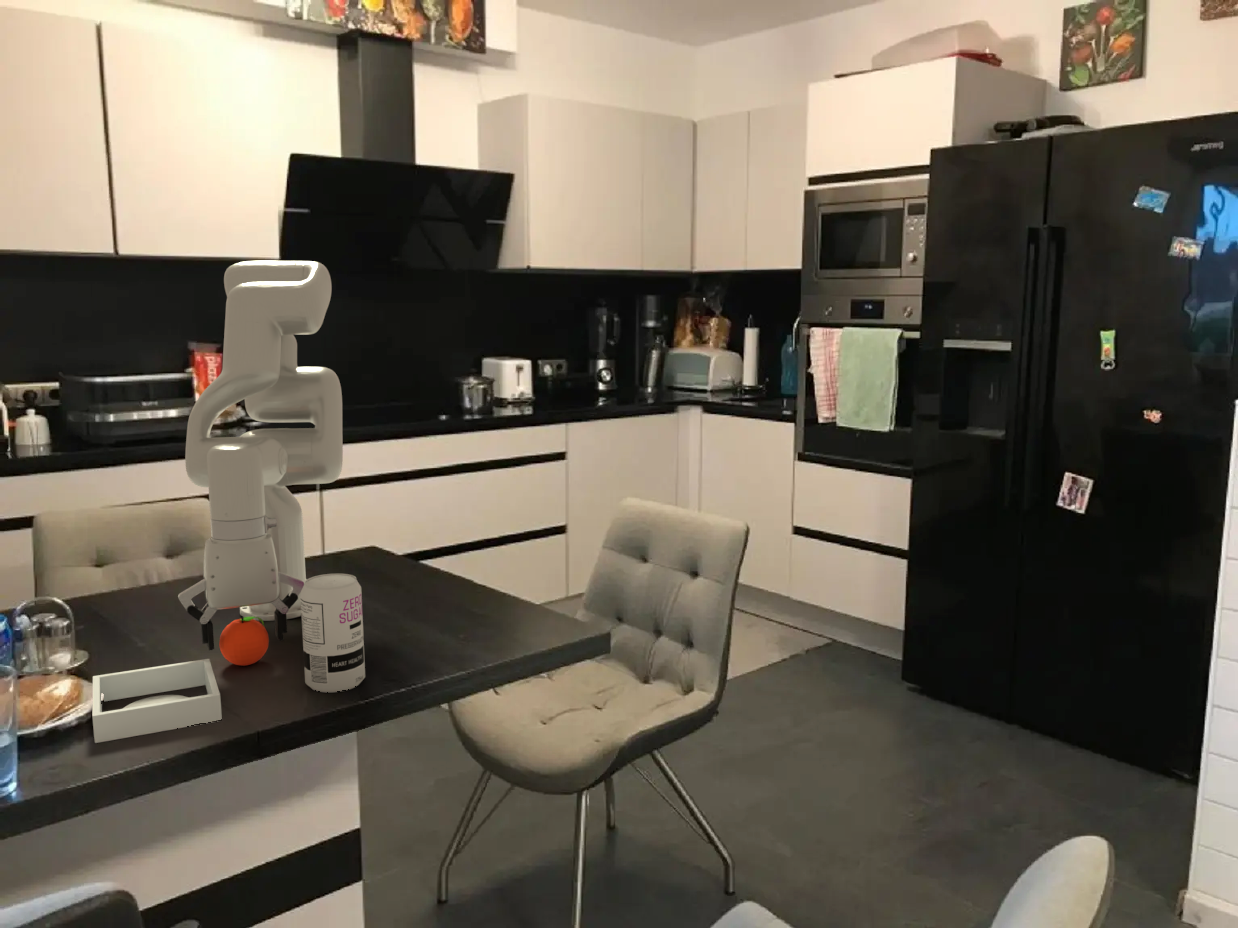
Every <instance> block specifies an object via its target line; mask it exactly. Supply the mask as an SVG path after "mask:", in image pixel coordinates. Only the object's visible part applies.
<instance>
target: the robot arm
mask: <svg viewBox="0 0 1238 928" xmlns="http://www.w3.org/2000/svg"><path fill="white" fill-rule="evenodd" d="M223 284H224V285H223V286H224V291H225V295H226V302H225V319H224V333H223V335H224V338H223V352H222V368H221V373H219V375H218V376H217V378H215V379H214V380H213V381H212V382H211V383H210V384H208V386H207V387H206V388H205V389H204V390H203V392H202V393H201V394H200V396H199V397H198V398H197V400H196V401H195V403H194V405H193V407H192V409H191V411H190V414H189V417H188V421H187V428H186V439H185V440H186V441H185V454H184V455H185V456H184V457H185V458H184V460H185V461H184V462H185V469H186V470H185V471H186V474H187V477H188V479H189V480H190V481H191V483H193V484H194V485H195V486H197V487H201V488H208V499H209V500H208V501H209V515H210V519H209V520H210V533H211V535H210V536H211V537H210V538H207V539H206V540H205V545H204V551H203V552H204V553H203V554H204V555H203V579H201V580H200V581H198V582H197V583H194V584H193V585H191V586H189V587H188V588H186V589H184V590H183V591H181V592H179V593H178V596H177V597H178V600H179V602H180V603H181V605H182V606H183V607H184V609H185V611H186V612H187V614H189V615H190V616H191V617H193V618H194V619H195V620H197V621H198V622H199V623H200V630H201V641H202V644H203V645H204V644H206V646H207V648H208V651H213V650H215V642H214V641H215V639H214V625H213V624H214V623H213V621H212V618H213V617H214V615H215V614H216V612H217V611H218V610H227V609H236V608H239V615H240V616H242V618H245V617H258V618H261V619H262V621H263V622H264V621H265V622H266V621H267V622H272V621H274V631H275V633H274V634H275V637H276V639H277V640H278V641H281V642H282V641H284V634H286V633H288V622H287V620H290V619H295V618H299V617H302V616H301V598H300V594H301V590H302V588H303V586H304V583H305V581H306V580H307V579H308V578H307V576H306V559H305V557H306V556H305V542H304V541H305V539H304V538H305V537H304V523H303V522H304V521H303V520H304V519H303V518H304V517H303V510H302V506H301V504H300V502H299V501H298V499H297V498H296V497H295V495H294V494H293V493H292V492H291V491H290V490H289V489H288V487H287V486H292V485H320V484H321V485H322V484H330V483H334V482H335V481H337V480H338V479H339V478H340V476H341V474H342V470H343V452H344V450H343V449H344V448H343V395H342V393H343V392H342V386H341V383H340V379H339V376H338V375H337V374H336V372H335V371H334V370H333V369H331V368H328V367H326V366H298V342H297V339H296V337H295V336H296V335H303V336H304V335H314V334H316V333H317V332H318V331H319V330H320V328H321V327H322V325H323V324H324V319H325V316H326V313H327V311H328V308H329V305H330V301H331V297H332V287H333V286H332V279H331V274H330V272H329V270H328V268H327V266H325V265H324V263H323V264H322V262H319V261H315V260H314V261H312V260H246V261H240V262H236V263H234V264H232V265H229V266H228V267H227V268H226V270H225V272H224V276H223ZM243 400H244V407H245V411H246V413H247V415H248V416H249V417H250V418H251V419H252V420H254V421H257V422H262V423H311V424H313V425H314V427H313V428H312V427H309V428H307V427H305V428H304V427H303V428H301V427H299V428H298V427H297V428H288V427H285V428H283V427H282V428H280V427H278V428H277V427H276V428H259V429H257V428H256V429H252V430H249V431H247V432H244V433H243V434H241V435H240V436H235V437H234V436H231V437H230V436H226V437H225V436H223V437H219V436H218V437H211V431H212V427H213V425H214V423H215V422H216V420H217V419H218V418H219V416H220V415H221V414H223V413H224V411H227V409H229V408H231V407H232V406H233V405H236V404H237V403H239V402H242V401H243ZM202 592H204V594H203V595H204V599H205V601H206V603H205V605H204V606H203V607H202V608H200V607H198V606H197V605H196V604H194V602H193V600H192V599H193V598H195V597H196V596H197V595H199V594H201V593H202ZM258 618H253V619H254V620H256V621H258V622H261V621H260V620H259V619H258Z"/></svg>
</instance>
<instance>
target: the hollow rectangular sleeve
mask: <svg viewBox="0 0 1238 928" xmlns="http://www.w3.org/2000/svg"><path fill="white" fill-rule="evenodd" d="M201 686H202V687H203V686H204V687H205V688H206V694H204V695H198V696H191V697H188V696H184V695H180V694H164V695H163V694H162V695H156V696H150V697H146V698H142V699H139V700H136V701H133V702H132V703H129V704H127V705H126V706H124V707H123V708H120V709H112V710H108V711H103V703H102V704H101V693H103V694H104V702H108V701H109V702H110V701H115V700H116V701H117V700H121V699H127V698H135V697H140V696H146V695H153V694H158V693H164V692H171V691H177V690H184V689H190V688H196V687H201ZM91 714H92V726H93V737H94V738H93V739H94V744H97V743H98V744H99V743H104V742H109V741H114V740H116V741H117V740H120V739H126V738H131V737H136V736H143V735H149V734H154V733H159V732H166V731H172V730H176V729H177V728H178V729H182V728H188V727H187V726H189V727H192V726H191V725H194V724H199V723H206V724H209V723H208V722H211V723H213V722H212V721H216V720H221V719H222V720H223V718H222V717H223V716H222V701H221V692H220V690H219V686H218V684H217V680H216V677H215V673H214V671H213V667H212V663H211V659H210V658H205V659H197V660H193V661H192V660H191V661H185V662H178V663H171V664H170V663H169V664H165V665H158V666H152V667H144V668H139V669H132V670H124V671H120V672H112V673H105V674H100V675H99V674H98V675H93V676H92V713H91ZM194 726H195V725H194Z"/></svg>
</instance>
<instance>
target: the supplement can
mask: <svg viewBox="0 0 1238 928" xmlns="http://www.w3.org/2000/svg"><path fill="white" fill-rule="evenodd" d="M306 579H307V580H306V581H305V583H304V586H303V588H302V590H301V594H300V598H301V616H300V617H301V629H302V630H301V631H302V632H301V633H302V647H303V651H302V652H303V666H304V682H305V684H306V685H307V686H308V687H309V688H310V689H312V690H313V691H315V690H316V692H318V691H320V692H319V693H327V692H328V693H338V692H337V691H340V692H343V691H342V690H346V691H349V690H352V689H354V688H356V687H357V686H358V687H359V685H360V684H361V683H362V682H363V680H364V679H365V678H366V668H365V667H366V662H365V645H364V643H365V642H364V639H365V638H364V622H363V621H364V619H363V618H364V617H363V599H362V598H363V597H362V586H361V584H360V583H359V582H358V580H357V577H356V576H355V575H353V574H348V573H327V574H319V575H315V576H312V577H311V576H310V577H309V578H306ZM355 686H356V687H355ZM348 689H349V690H348Z"/></svg>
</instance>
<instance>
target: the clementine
mask: <svg viewBox="0 0 1238 928" xmlns="http://www.w3.org/2000/svg"><path fill="white" fill-rule="evenodd" d="M253 618H258V617H242V618H237V619H234V620H233V621H231V622H230V623H229V624H227V625H226V626H225V627H224V629H223V630H222V632H221V634H220V636H219V645H218V646H219V649H220V652H221V654H222V656H223V658H224V659H225V660H226V661H227V662H229V663H231V664H233V665H236V666H241V667H242V666H243V667H245V666H249V665H253V664H255V663H257V662H258V661H259V660H261V659H263V657H264V656H265V654H266V652H267V650H268V648H269V642H270V638H269V637H270V636H269V632H268V631H267V629H266V627H265V623H264V621H262V619H261V618H258V619H259V620H260V621H259V620H254V619H253Z"/></svg>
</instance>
